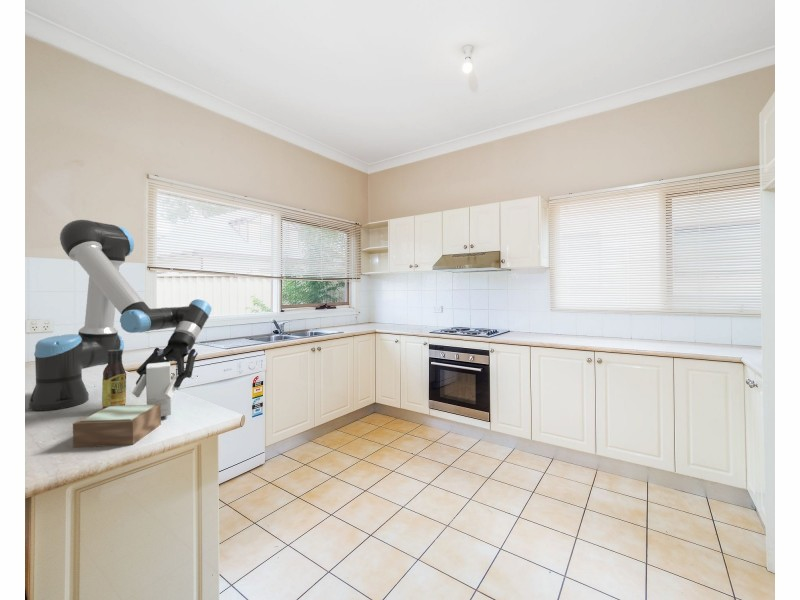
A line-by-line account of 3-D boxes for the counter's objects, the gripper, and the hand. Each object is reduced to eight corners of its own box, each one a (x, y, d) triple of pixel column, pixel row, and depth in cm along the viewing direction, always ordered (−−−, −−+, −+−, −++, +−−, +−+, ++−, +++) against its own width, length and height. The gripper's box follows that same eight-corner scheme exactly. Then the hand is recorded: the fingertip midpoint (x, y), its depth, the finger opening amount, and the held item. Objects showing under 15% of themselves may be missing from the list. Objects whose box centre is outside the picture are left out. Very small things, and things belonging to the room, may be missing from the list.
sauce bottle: (112, 413, 117) (111, 352, 117) (97, 411, 119) (96, 351, 118) (131, 406, 124) (130, 348, 123) (116, 405, 125) (115, 348, 124)
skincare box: (171, 415, 113) (171, 365, 112) (145, 419, 109) (145, 368, 109) (171, 407, 120) (171, 360, 119) (146, 410, 116) (146, 362, 116)
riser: (109, 426, 106) (109, 404, 106) (160, 424, 108) (160, 403, 108) (73, 447, 92) (72, 422, 92) (133, 444, 94) (132, 420, 94)
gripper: (219, 344, 129) (192, 402, 114) (158, 342, 130) (123, 400, 114) (211, 331, 123) (181, 390, 108) (147, 329, 124) (109, 388, 109)
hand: (151, 395), depth 111 cm, fingers closed on skincare box, 10 cm apart
